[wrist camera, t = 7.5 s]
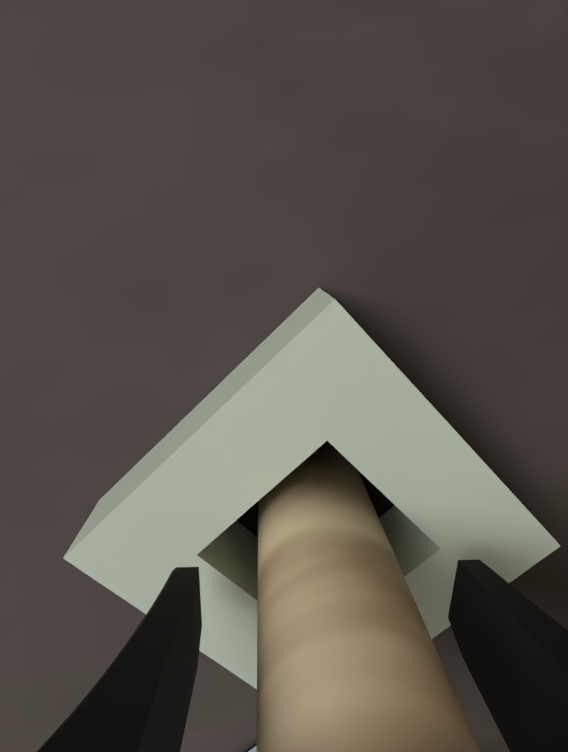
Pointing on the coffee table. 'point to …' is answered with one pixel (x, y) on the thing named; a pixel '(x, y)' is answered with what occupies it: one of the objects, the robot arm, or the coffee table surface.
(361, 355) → the socket
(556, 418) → the coffee table surface
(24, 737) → the coffee table surface
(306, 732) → the peg
